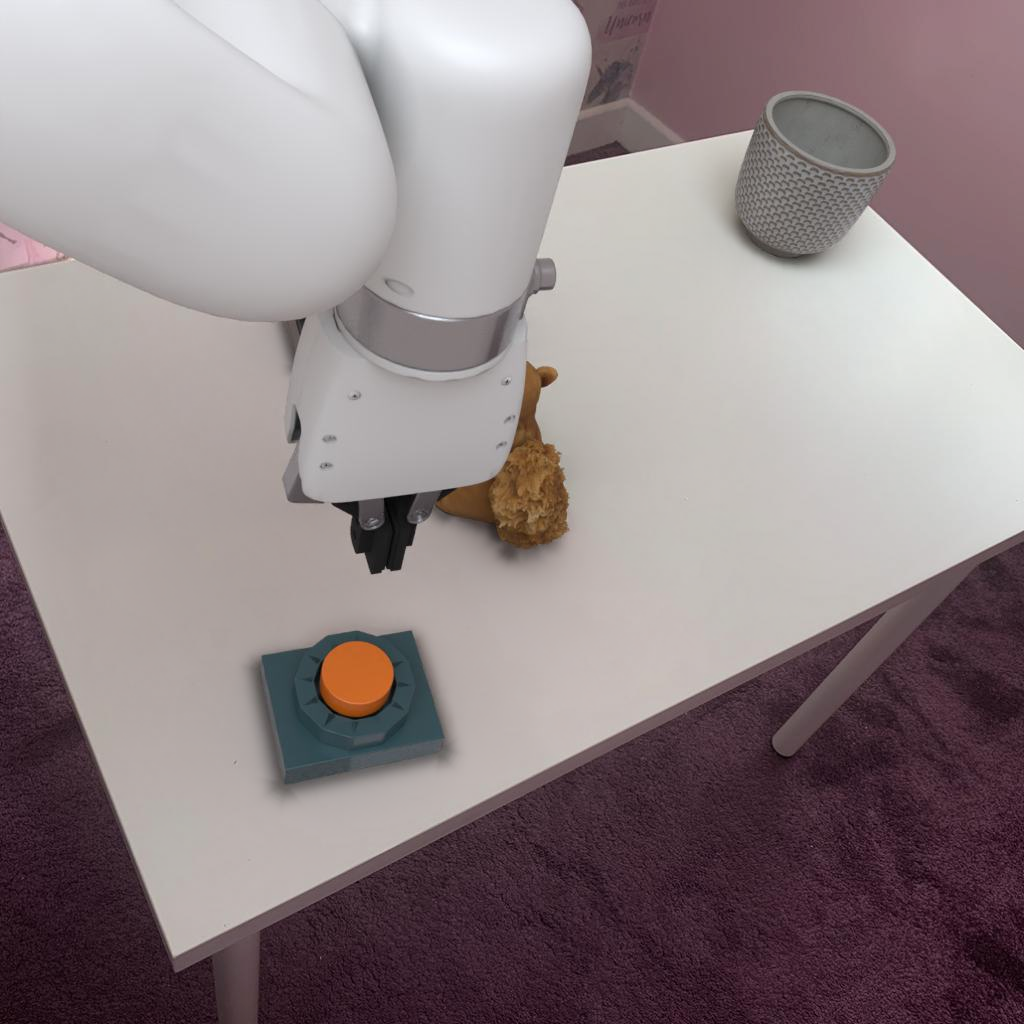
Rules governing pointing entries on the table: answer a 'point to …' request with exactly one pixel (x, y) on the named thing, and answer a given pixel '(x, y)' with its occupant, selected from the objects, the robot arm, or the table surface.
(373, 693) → the button
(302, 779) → the dark teal square block
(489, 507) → the stuffed squirrel
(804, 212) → the planter
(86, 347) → the table surface
